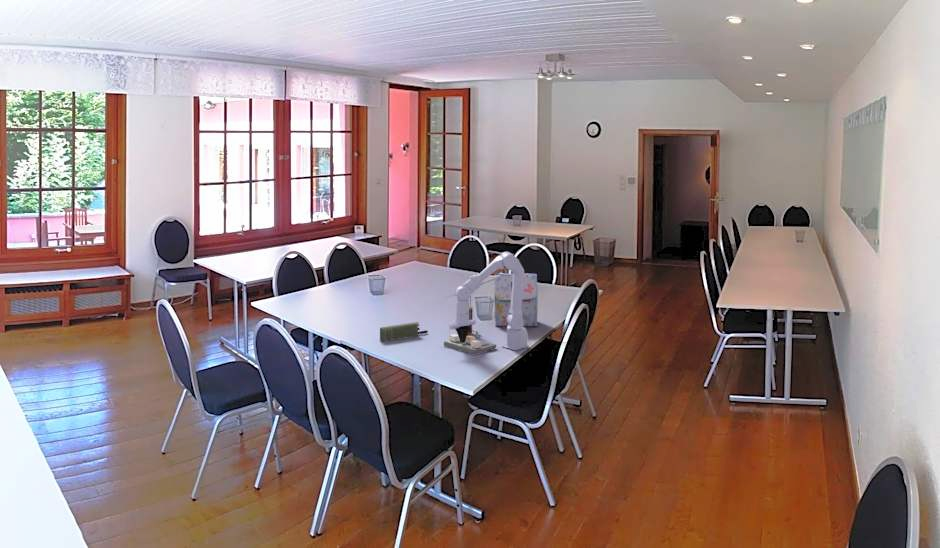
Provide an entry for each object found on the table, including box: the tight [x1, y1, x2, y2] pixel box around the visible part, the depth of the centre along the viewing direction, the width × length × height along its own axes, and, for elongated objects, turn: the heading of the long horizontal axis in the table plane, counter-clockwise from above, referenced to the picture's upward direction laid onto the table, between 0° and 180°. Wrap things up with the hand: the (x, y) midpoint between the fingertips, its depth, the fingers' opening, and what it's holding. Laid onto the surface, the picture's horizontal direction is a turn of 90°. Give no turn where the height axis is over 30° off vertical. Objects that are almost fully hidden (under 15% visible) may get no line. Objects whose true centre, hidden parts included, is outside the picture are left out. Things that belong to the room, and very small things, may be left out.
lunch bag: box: [493, 272, 539, 327], centre depth 385 cm, size 22×17×26 cm
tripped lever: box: [465, 334, 476, 344], centre depth 345 cm, size 3×4×3 cm
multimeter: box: [467, 294, 484, 339], centre depth 364 cm, size 15×10×20 cm
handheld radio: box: [379, 321, 429, 342], centre depth 361 cm, size 7×3×25 cm
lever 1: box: [449, 333, 460, 342], centre depth 348 cm, size 3×4×2 cm
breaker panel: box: [443, 338, 497, 355], centre depth 346 cm, size 14×20×2 cm
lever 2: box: [471, 340, 481, 348], centre depth 338 cm, size 3×4×2 cm
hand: (462, 342), depth 342 cm, fingers closed
